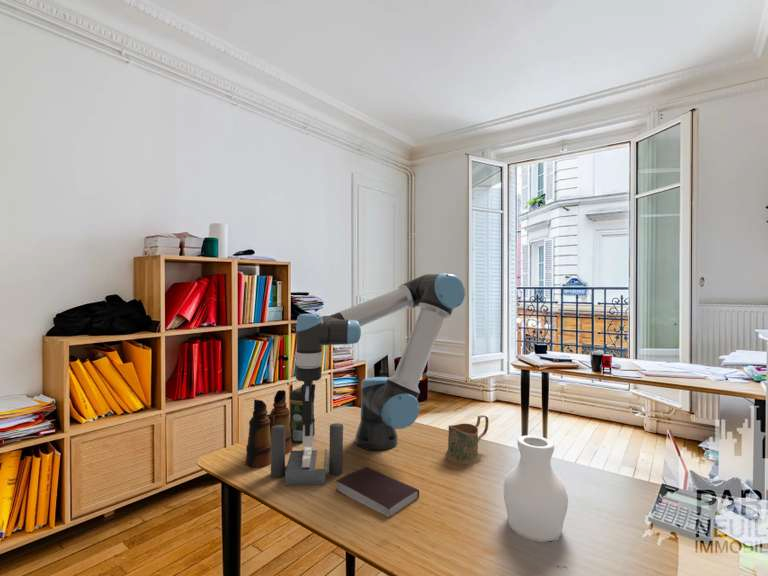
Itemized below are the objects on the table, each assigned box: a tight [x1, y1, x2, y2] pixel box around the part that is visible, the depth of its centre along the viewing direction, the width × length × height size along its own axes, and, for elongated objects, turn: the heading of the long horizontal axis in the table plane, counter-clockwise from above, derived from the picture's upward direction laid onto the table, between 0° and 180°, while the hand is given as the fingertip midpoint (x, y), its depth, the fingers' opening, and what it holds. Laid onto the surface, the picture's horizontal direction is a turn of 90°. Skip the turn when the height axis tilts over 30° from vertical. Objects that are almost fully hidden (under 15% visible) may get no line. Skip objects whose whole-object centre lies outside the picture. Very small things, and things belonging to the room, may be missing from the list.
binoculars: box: [244, 389, 293, 469], centre depth 128 cm, size 18×8×20 cm, turn 156°
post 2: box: [328, 422, 344, 476], centre depth 118 cm, size 4×4×14 cm
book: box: [335, 466, 420, 519], centre depth 106 cm, size 12×19×3 cm, turn 49°
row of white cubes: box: [302, 445, 313, 468], centre depth 117 cm, size 2×11×2 cm, turn 7°
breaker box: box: [284, 449, 328, 487], centre depth 117 cm, size 11×14×4 cm
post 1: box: [270, 425, 286, 479], centre depth 116 cm, size 4×4×14 cm
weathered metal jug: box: [444, 415, 489, 465], centre depth 132 cm, size 12×18×12 cm, turn 124°
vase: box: [503, 434, 569, 543], centre depth 92 cm, size 14×14×20 cm
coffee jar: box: [289, 386, 316, 443], centre depth 144 cm, size 10×8×19 cm
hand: (307, 445), depth 117 cm, fingers closed
